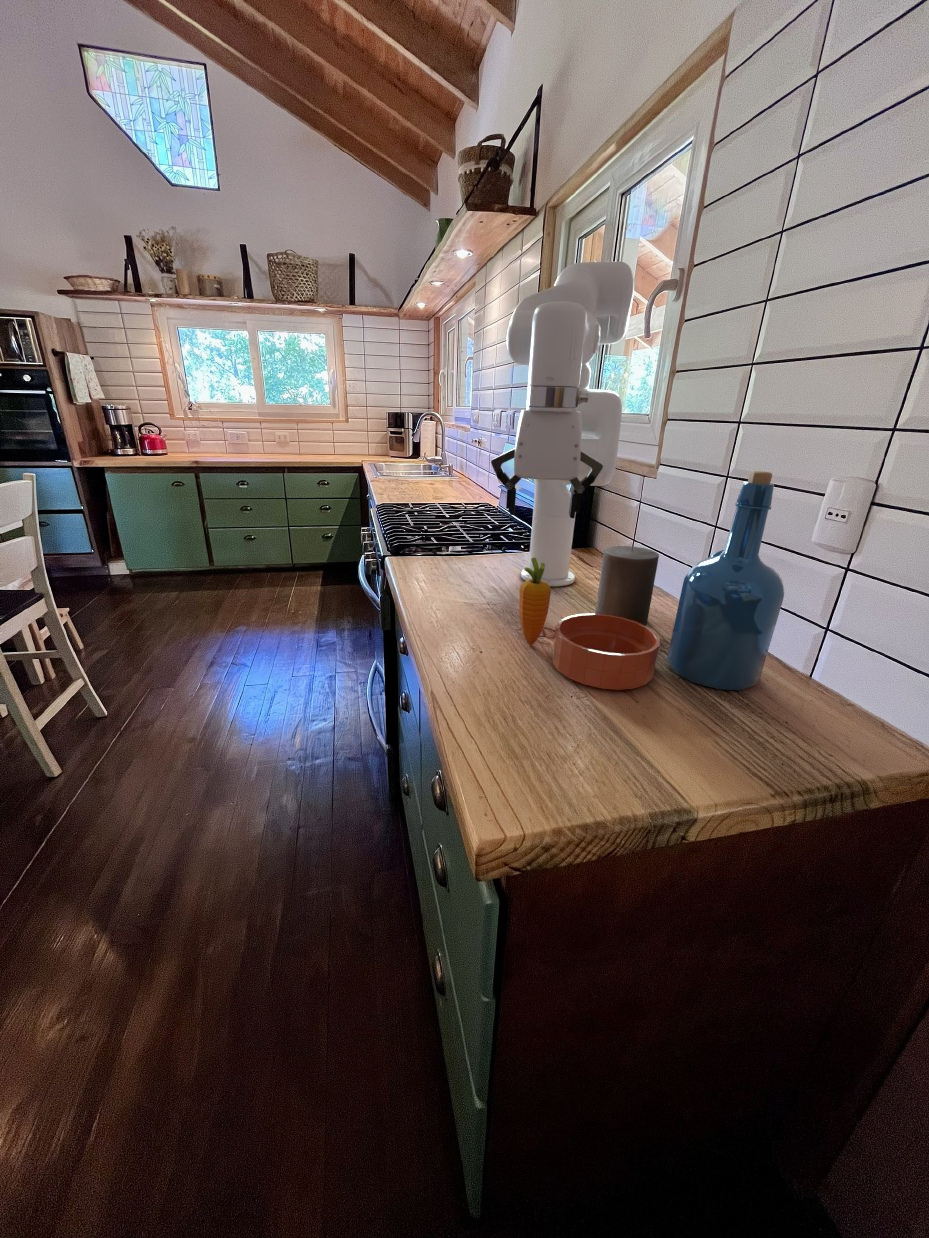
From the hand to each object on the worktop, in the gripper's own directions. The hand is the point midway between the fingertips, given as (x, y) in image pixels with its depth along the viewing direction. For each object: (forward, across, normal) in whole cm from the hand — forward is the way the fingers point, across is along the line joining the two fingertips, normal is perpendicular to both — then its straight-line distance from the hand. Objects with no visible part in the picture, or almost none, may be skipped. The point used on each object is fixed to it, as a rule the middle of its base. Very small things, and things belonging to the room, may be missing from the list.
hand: (541, 515), depth 81 cm
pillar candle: (+21, -17, -8) cm, 28 cm away
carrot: (+21, 0, +6) cm, 22 cm away
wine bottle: (+21, -28, +10) cm, 36 cm away
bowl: (+21, -11, +12) cm, 26 cm away
